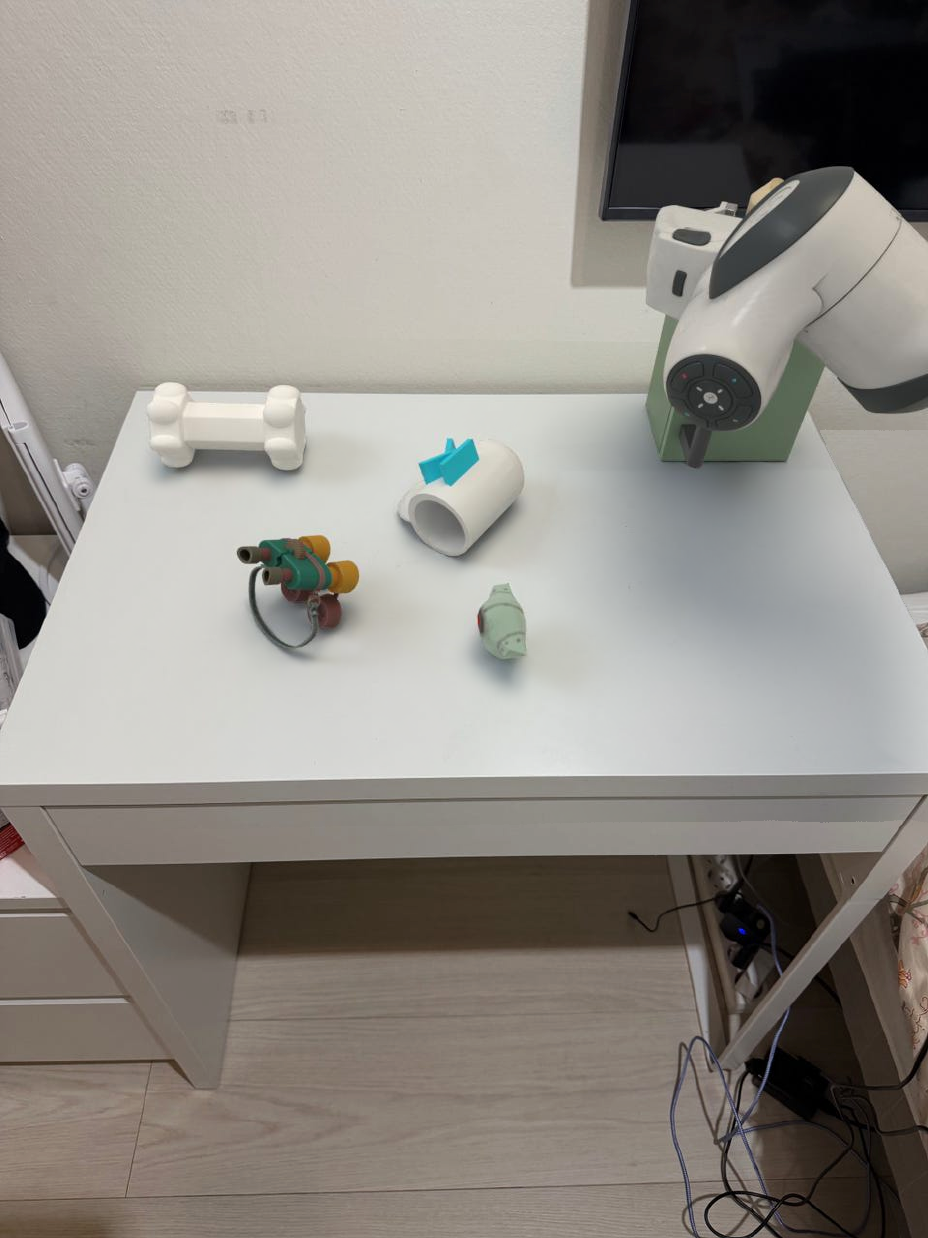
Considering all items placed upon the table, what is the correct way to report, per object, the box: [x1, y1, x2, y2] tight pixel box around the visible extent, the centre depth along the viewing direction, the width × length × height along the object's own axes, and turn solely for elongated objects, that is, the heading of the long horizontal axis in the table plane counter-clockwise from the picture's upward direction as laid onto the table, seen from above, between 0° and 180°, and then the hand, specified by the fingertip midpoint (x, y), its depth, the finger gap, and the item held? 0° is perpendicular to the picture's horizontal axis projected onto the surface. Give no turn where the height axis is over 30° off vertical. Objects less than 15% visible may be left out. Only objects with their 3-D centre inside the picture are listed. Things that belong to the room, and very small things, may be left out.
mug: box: [397, 437, 525, 557], centre depth 84 cm, size 12×9×12 cm
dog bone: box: [145, 381, 308, 471], centre depth 88 cm, size 15×9×8 cm, turn 89°
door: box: [658, 338, 826, 470], centre depth 85 cm, size 6×14×17 cm, turn 92°
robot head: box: [476, 582, 528, 660], centre depth 73 cm, size 8×4×7 cm, turn 9°
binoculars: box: [236, 534, 360, 650], centre depth 73 cm, size 9×9×10 cm
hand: (779, 220), depth 78 cm, fingers open, 8 cm apart
